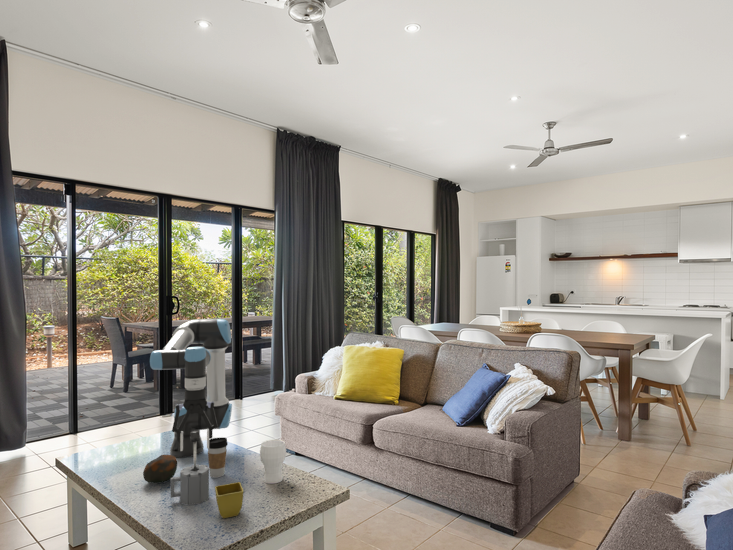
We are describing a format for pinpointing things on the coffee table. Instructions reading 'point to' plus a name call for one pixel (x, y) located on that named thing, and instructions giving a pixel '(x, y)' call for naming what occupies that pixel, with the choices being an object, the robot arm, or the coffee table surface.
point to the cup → (273, 460)
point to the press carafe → (192, 485)
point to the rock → (160, 469)
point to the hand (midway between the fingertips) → (195, 448)
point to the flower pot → (229, 499)
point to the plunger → (195, 437)
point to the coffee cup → (217, 456)
